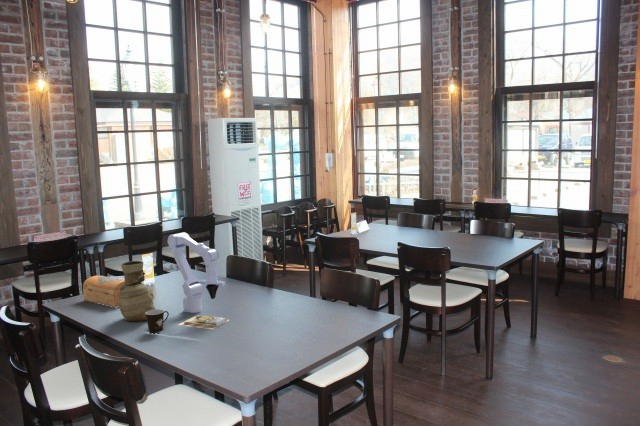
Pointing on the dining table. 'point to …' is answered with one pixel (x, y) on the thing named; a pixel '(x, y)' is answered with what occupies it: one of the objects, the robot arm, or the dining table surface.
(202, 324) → the jig board
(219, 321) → the panel
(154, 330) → the coffee mug
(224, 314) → the dining table surface
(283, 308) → the dining table surface
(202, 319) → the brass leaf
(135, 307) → the ceramic vessel
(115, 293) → the wooden box
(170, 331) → the dining table surface
